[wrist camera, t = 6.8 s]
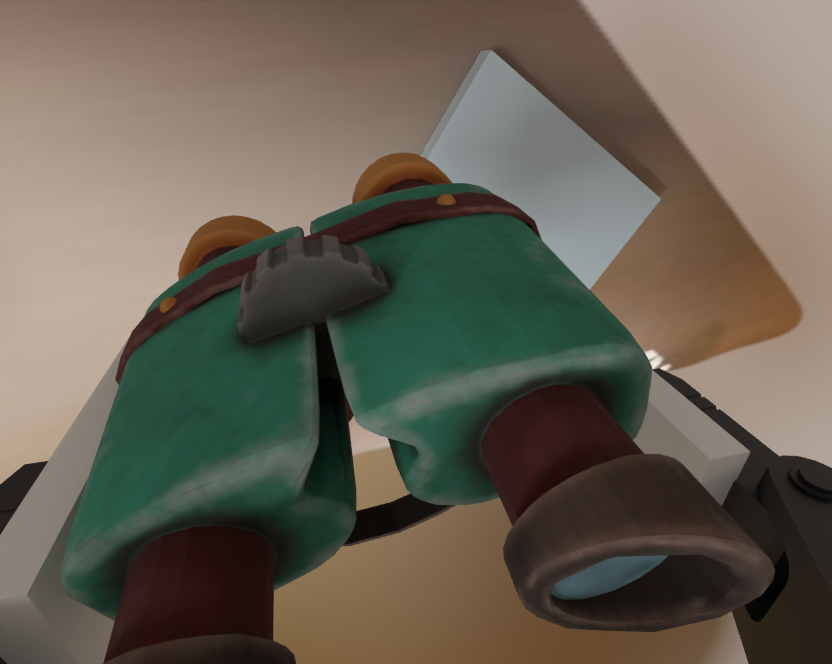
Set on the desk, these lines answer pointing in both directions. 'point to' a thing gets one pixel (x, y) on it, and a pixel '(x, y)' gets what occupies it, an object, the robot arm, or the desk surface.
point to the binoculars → (385, 428)
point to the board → (540, 166)
